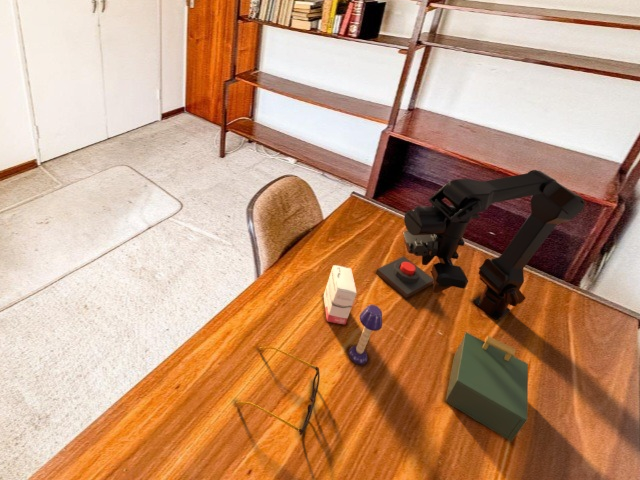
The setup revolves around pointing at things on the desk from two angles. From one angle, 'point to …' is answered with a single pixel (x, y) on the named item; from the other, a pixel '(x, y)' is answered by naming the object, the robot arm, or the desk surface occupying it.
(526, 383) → the chest lid
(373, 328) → the toy lamp
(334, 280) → the ink box
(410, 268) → the button
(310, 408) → the eyeglasses
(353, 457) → the desk surface
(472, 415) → the chest
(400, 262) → the button base
